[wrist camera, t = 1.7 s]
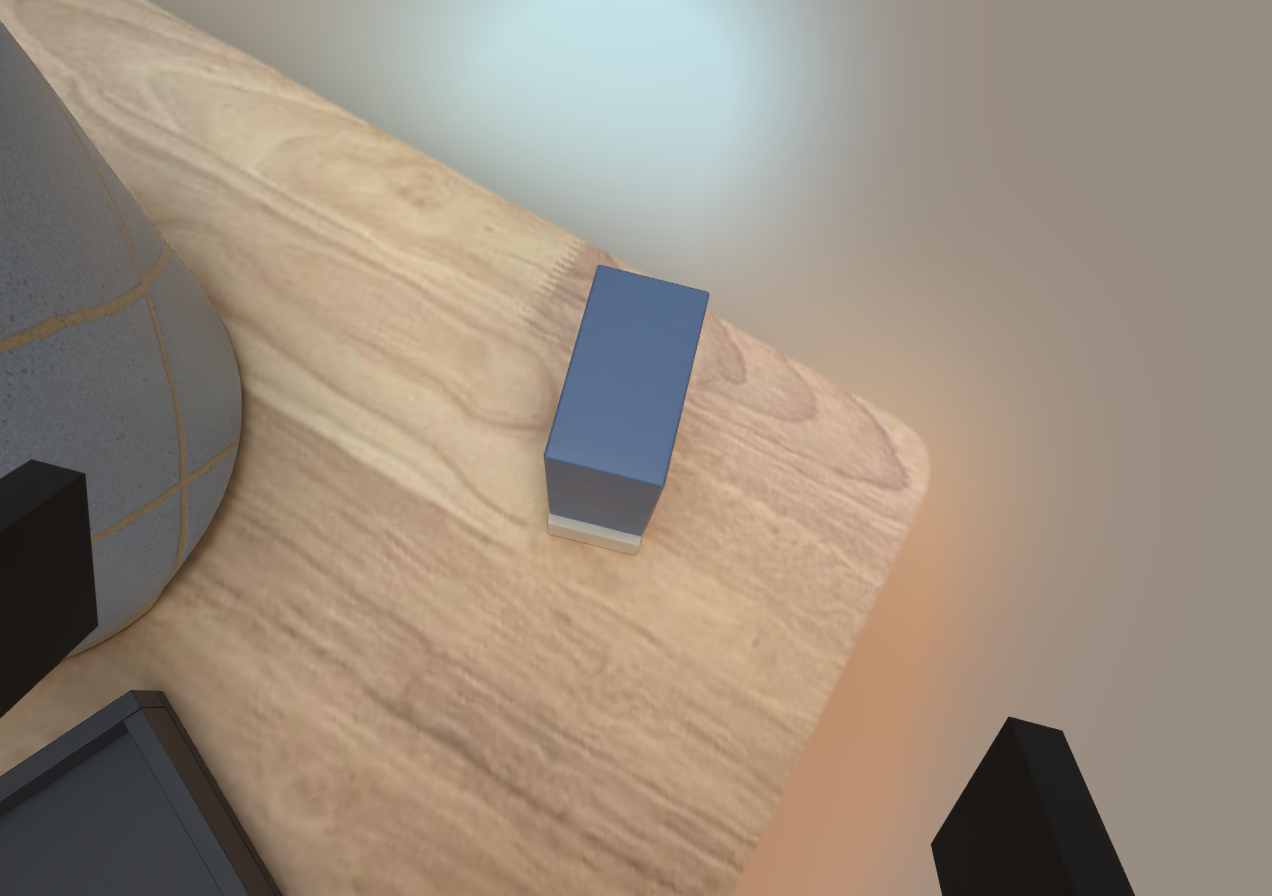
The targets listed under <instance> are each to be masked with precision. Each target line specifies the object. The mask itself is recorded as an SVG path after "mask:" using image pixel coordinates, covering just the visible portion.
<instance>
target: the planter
mask: <svg viewBox="0 0 1272 896" xmlns="http://www.w3.org/2000/svg"><path fill="white" fill-rule="evenodd" d="M241 422H242V393H241V383H240V376H239V371H238V366H237V362H236V358H235V355H234V351H233V348H232V345H231V342H230V340H229V337H228V334H227V332H226V329H225V327H224V325H223V323H222V321H221V319H220V317H219V315H218V313H217V311H216V309H215V308H214V306H213V304H212V303H211V301H210V299H209V298H208V296H207V295H206V293H205V291H204V290H203V288H202V287H201V285H200V284H199V283H198V281H197V280H196V279H195V277H194V276H193V275H192V274H191V272H190V271H189V270H188V268H187V267H186V266H185V265H184V263H183V262H182V261H181V259H180V258H179V257H178V256H177V254H176V253H175V252H174V250H173V249H172V248H171V247H170V245H169V244H168V243H167V242H166V240H165V239H164V238H163V236H162V235H161V234H160V233H159V231H158V230H157V229H156V227H155V226H154V225H153V223H152V222H151V221H150V219H149V218H148V217H147V215H146V214H145V213H144V211H143V210H142V209H141V207H140V206H139V205H138V203H137V202H136V201H135V200H134V198H133V197H132V196H131V194H130V193H129V192H128V190H127V189H126V188H125V186H124V185H123V184H122V182H121V181H120V180H119V178H118V177H117V176H116V174H115V173H114V172H113V170H112V169H111V167H110V166H109V165H108V163H107V162H106V161H105V159H104V158H103V157H102V155H101V154H100V152H99V151H98V150H97V148H96V147H95V146H94V144H93V143H92V142H91V140H90V139H89V137H88V136H87V135H86V133H85V132H84V131H83V129H82V128H81V126H80V125H79V124H78V122H77V121H76V120H75V118H74V117H73V116H72V114H71V113H70V111H69V110H68V109H67V107H66V106H65V105H64V103H63V102H62V100H61V99H60V98H59V96H58V95H57V94H56V92H55V91H54V90H53V88H52V87H51V85H50V84H49V83H48V81H47V80H46V79H45V77H44V76H43V75H42V73H41V72H40V71H39V70H38V68H37V67H36V66H35V64H34V63H33V62H32V60H31V59H30V58H29V57H28V55H27V54H26V53H25V51H24V50H23V49H22V48H21V46H20V45H19V44H18V42H17V41H16V40H15V39H14V37H13V36H12V35H11V33H10V32H9V31H8V30H7V28H6V27H5V26H4V24H3V23H2V22H1V21H0V478H2V477H3V476H5V475H7V474H8V473H10V472H11V471H13V470H15V469H16V468H18V467H19V466H21V465H23V464H24V463H26V462H27V461H29V460H31V459H33V460H37V461H41V462H44V463H48V464H52V465H56V466H60V467H63V468H67V469H71V470H75V471H79V472H82V473H86V485H87V496H88V508H89V520H90V532H91V543H92V555H93V567H94V579H95V590H96V602H97V614H98V627H97V628H96V629H95V630H94V631H92V632H91V633H90V634H89V635H88V636H87V637H86V638H85V639H84V640H83V641H82V642H81V643H80V644H79V645H78V646H77V647H76V648H74V649H73V650H72V651H71V652H70V653H69V654H68V655H67V656H66V657H65V658H67V657H70V656H73V655H75V654H77V653H79V652H82V651H84V650H86V649H88V648H90V647H93V646H95V645H96V644H98V643H100V642H102V641H104V640H106V639H108V638H109V637H111V636H113V635H115V634H116V633H118V632H119V631H121V630H123V629H124V628H126V627H127V626H129V625H130V624H132V623H133V622H134V621H136V620H137V619H139V618H140V617H141V616H142V615H144V614H145V613H146V612H147V611H148V610H149V609H150V608H151V607H152V606H153V605H154V603H155V602H156V601H157V599H158V598H159V596H160V594H161V593H162V591H163V589H164V588H165V587H166V585H167V584H168V583H169V581H170V580H171V579H172V577H173V576H174V575H175V573H176V572H177V571H178V570H179V568H180V567H181V566H182V564H183V563H184V562H185V560H186V559H187V558H188V556H189V555H190V553H191V552H192V550H193V549H194V548H195V546H196V545H197V543H198V542H199V540H200V539H201V537H202V536H203V534H204V532H205V531H206V529H207V527H208V526H209V524H210V522H211V521H212V519H213V517H214V515H215V513H216V511H217V509H218V507H219V505H220V503H221V500H222V498H223V496H224V493H225V491H226V489H227V486H228V483H229V480H230V477H231V474H232V471H233V468H234V464H235V460H236V456H237V452H238V446H239V440H240V434H241ZM65 658H64V659H65Z"/></svg>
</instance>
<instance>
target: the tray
mask: <svg viewBox="0 0 1272 896" xmlns="http://www.w3.org/2000/svg"><path fill="white" fill-rule="evenodd" d="M0 896H282V895H281V893H280V891H279V889H278V888H277V886H276V884H275V883H274V881H273V879H272V878H271V876H270V874H269V872H268V871H267V869H266V867H265V866H264V864H263V862H262V860H261V859H260V857H259V855H258V854H257V852H256V850H255V849H254V847H253V845H252V843H251V842H250V840H249V838H248V837H247V835H246V833H245V832H244V830H243V828H242V826H241V825H240V823H239V821H238V820H237V818H236V816H235V815H234V813H233V811H232V809H231V808H230V806H229V804H228V803H227V801H226V799H225V798H224V796H223V794H222V792H221V791H220V789H219V787H218V786H217V784H216V782H215V781H214V779H213V777H212V775H211V774H210V772H209V770H208V769H207V767H206V765H205V763H204V762H203V760H202V758H201V757H200V755H199V753H198V752H197V750H196V748H195V746H194V745H193V743H192V741H191V740H190V738H189V736H188V735H187V733H186V731H185V729H184V728H183V726H182V724H181V723H180V721H179V719H178V718H177V716H176V714H175V712H174V711H173V709H172V707H171V706H170V704H169V702H168V701H167V699H166V697H165V695H164V694H163V692H162V691H142V690H130V691H129V692H127V693H126V694H124V695H123V696H121V697H120V698H118V699H117V700H115V701H114V702H112V703H111V704H109V705H108V706H106V707H105V708H103V709H102V710H100V711H99V712H97V713H96V714H94V715H93V716H91V717H90V718H88V719H87V720H85V721H83V722H82V723H80V724H79V725H77V726H76V727H74V728H73V729H71V730H70V731H68V732H67V733H65V734H64V735H62V736H61V737H59V738H58V739H56V740H55V741H53V742H52V743H50V744H49V745H47V746H46V747H44V748H43V749H41V750H40V751H38V752H37V753H35V754H34V755H32V756H31V757H29V758H28V759H26V760H25V761H23V762H22V763H20V764H18V765H17V766H15V767H14V768H12V769H11V770H9V771H8V772H6V773H5V774H3V775H2V776H0Z"/></svg>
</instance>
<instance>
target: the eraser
mask: <svg viewBox="0 0 1272 896" xmlns="http://www.w3.org/2000/svg"><path fill="white" fill-rule="evenodd" d="M708 298H709V293H708V292H706V291H702V290H698V289H694V288H690V287H686V286H682V285H678V284H674V283H670V282H666V281H662V280H658V279H654V278H650V277H646V276H642V275H638V274H634V273H630V272H626V271H622V270H618V269H614V268H610V267H606V266H603V265H598V267H597V269H596V273H595V276H594V280H593V283H592V287H591V290H590V294H589V297H588V301H587V304H586V308H585V312H584V315H583V319H582V322H581V326H580V329H579V333H578V336H577V340H576V343H575V347H574V350H573V354H572V358H571V361H570V365H569V368H568V372H567V375H566V379H565V382H564V386H563V389H562V393H561V396H560V400H559V404H558V407H557V411H556V414H555V418H554V421H553V425H552V428H551V432H550V435H549V439H548V442H547V446H546V450H545V453H544V461H545V471H546V481H547V491H548V500H549V510H550V513H549V516H548V520H547V526H548V534H551V535H555V536H559V537H563V538H567V539H571V540H575V541H579V542H583V543H587V544H591V545H595V546H599V547H603V548H607V549H611V550H615V551H619V552H623V553H627V554H631V555H636V553H637V551H638V549H639V547H640V544H641V540H642V536H643V533H644V531H645V529H646V526H647V524H648V522H649V520H650V517H651V515H652V513H653V510H654V508H655V506H656V504H657V501H658V499H659V497H660V495H661V492H662V490H663V488H664V485H665V481H666V477H667V473H668V468H669V464H670V460H671V456H672V451H673V447H674V443H675V439H676V434H677V430H678V426H679V422H680V417H681V413H682V409H683V405H684V400H685V396H686V392H687V388H688V383H689V379H690V375H691V371H692V366H693V362H694V358H695V354H696V349H697V345H698V341H699V337H700V332H701V328H702V324H703V320H704V315H705V311H706V307H707V303H708Z"/></svg>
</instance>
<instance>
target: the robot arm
mask: <svg viewBox="0 0 1272 896" xmlns="http://www.w3.org/2000/svg"><path fill="white" fill-rule="evenodd" d="M97 627H98V614H97V602H96V590H95V579H94V567H93V555H92V543H91V532H90V520H89V508H88V496H87V485H86V473H82V472H79V471H75V470H71V469H67V468H63V467H60V466H56V465H52V464H48V463H44V462H41V461H37V460H33V459H31V460H29V461H27V462H26V463H24V464H23V465H21V466H19V467H18V468H16V469H15V470H13V471H11V472H10V473H8V474H7V475H5V476H3V477H2V478H0V718H1V717H2V716H4V715H5V714H6V713H7V712H8V711H9V710H10V709H11V708H12V707H13V706H14V705H15V704H16V703H17V702H18V701H19V700H20V699H22V698H23V697H24V696H25V695H26V694H27V693H28V692H29V691H30V690H31V689H32V688H33V687H34V686H35V685H36V684H37V683H38V682H40V681H41V680H42V679H43V678H44V677H45V676H46V675H47V674H48V673H49V672H50V671H51V670H52V669H53V668H54V667H55V666H56V665H58V664H59V663H60V662H61V661H62V660H63V659H64V658H65V657H66V656H67V655H68V654H69V653H70V652H71V651H72V650H73V649H74V648H76V647H77V646H78V645H79V644H80V643H81V642H82V641H83V640H84V639H85V638H86V637H87V636H88V635H89V634H90V633H91V632H92V631H94V630H95V629H96V628H97ZM931 847H932V851H933V856H934V861H935V865H936V870H937V874H938V879H939V883H940V888H941V892H942V896H1135V894H1134V892H1133V890H1132V888H1131V886H1130V883H1129V881H1128V878H1127V876H1126V874H1125V872H1124V869H1123V867H1122V865H1121V863H1120V861H1119V858H1118V856H1117V854H1116V851H1115V849H1114V847H1113V845H1112V842H1111V840H1110V838H1109V835H1108V833H1107V831H1106V829H1105V826H1104V824H1103V822H1102V820H1101V817H1100V815H1099V813H1098V811H1097V808H1096V806H1095V804H1094V802H1093V799H1092V797H1091V795H1090V793H1089V791H1088V788H1087V786H1086V783H1085V781H1084V779H1083V777H1082V774H1081V772H1080V770H1079V768H1078V765H1077V763H1076V761H1075V759H1074V756H1073V754H1072V752H1071V750H1070V747H1069V745H1068V743H1067V740H1066V738H1065V736H1064V734H1063V731H1061V730H1058V729H1054V728H1050V727H1046V726H1043V725H1039V724H1035V723H1031V722H1027V721H1023V720H1020V719H1016V718H1012V717H1008V719H1007V720H1006V722H1005V723H1004V725H1003V727H1002V728H1001V730H1000V732H999V733H998V735H997V737H996V738H995V740H994V742H993V743H992V745H991V746H990V748H989V750H988V751H987V753H986V755H985V756H984V758H983V760H982V761H981V763H980V764H979V766H978V768H977V769H976V771H975V773H974V774H973V776H972V778H971V779H970V781H969V782H968V784H967V786H966V788H965V789H964V791H963V792H962V794H961V796H960V798H959V799H958V800H957V802H956V804H955V805H954V807H953V809H952V810H951V812H950V814H949V815H948V817H947V819H946V820H945V822H944V824H943V825H942V827H941V828H940V830H939V832H938V833H937V835H936V837H935V838H934V840H933V842H932V843H931Z"/></svg>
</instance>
